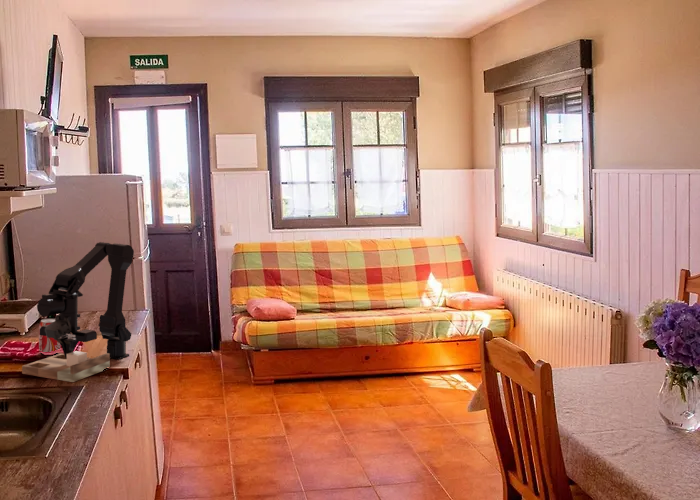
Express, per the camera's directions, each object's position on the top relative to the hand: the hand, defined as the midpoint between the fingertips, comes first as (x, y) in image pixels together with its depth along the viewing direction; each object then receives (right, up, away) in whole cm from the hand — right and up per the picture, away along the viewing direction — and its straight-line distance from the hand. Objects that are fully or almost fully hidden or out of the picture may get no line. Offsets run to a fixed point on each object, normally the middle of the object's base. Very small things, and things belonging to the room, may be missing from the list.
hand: (67, 358), depth 262 cm
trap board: (-1, -4, +1) cm, 4 cm away
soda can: (-14, -1, +21) cm, 25 cm away
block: (+3, -2, -1) cm, 4 cm away
